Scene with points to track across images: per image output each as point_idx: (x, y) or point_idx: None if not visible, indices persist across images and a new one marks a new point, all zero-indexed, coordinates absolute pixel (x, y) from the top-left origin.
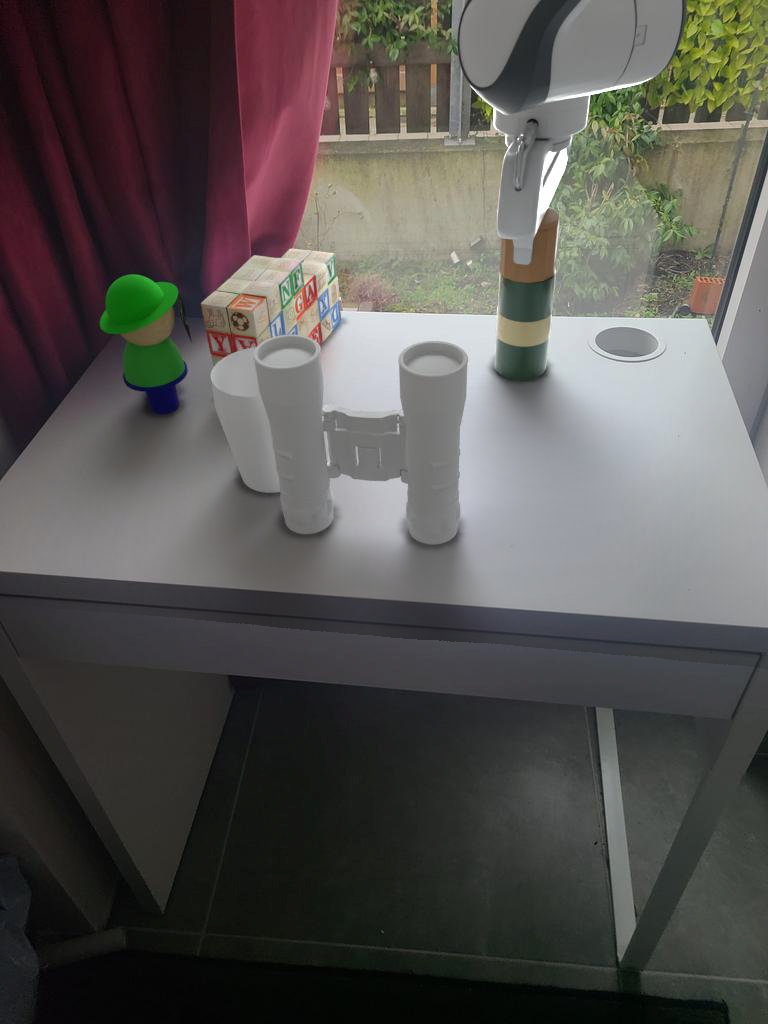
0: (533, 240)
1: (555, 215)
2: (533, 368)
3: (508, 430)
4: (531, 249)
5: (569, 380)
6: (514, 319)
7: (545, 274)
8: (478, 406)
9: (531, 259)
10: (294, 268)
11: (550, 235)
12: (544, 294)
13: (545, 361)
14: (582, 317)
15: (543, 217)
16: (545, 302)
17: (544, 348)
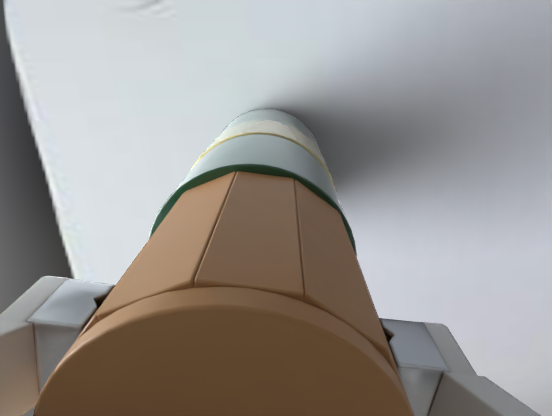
0: (489, 404)
1: (194, 333)
2: (315, 141)
3: (492, 172)
4: (472, 370)
5: (306, 54)
6: None
7: (334, 214)
8: (411, 229)
9: (422, 323)
10: None
11: (354, 303)
12: (327, 184)
13: (283, 115)
14: (6, 23)
15: (248, 407)
16: (318, 169)
17: (296, 127)
